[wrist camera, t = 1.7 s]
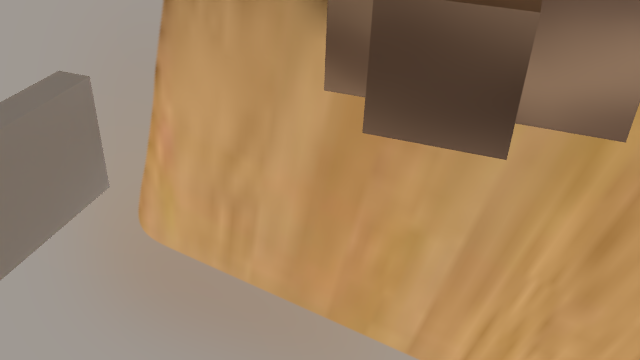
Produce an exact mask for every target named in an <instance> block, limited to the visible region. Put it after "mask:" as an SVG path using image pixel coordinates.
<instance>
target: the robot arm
mask: <svg viewBox="0 0 640 360" xmlns="http://www.w3.org/2000/svg"><path fill="white" fill-rule="evenodd" d="M107 188H109V182H108V176H107V171H106V165H105V159H104V154H103V148H102V143H101V137H100V132H99V126H98V121H97V115H96V109H95V104H94V98H93V94H92V87H91V82H90V77H89V76H84V75H79V74H73V73H68V72H62V71H58V72H56V73H54V74H52V75H50V76H48V77H47V78H45V79H43V80H41V81H39V82H37V83H35V84H33V85H32V86H30V87H28V88H26V89H24V90H22V91H20V92H19V93H17V94H15V95H13V96H11V97H9V98H8V99H6V100H4V101H2V102H0V280H1V279H3V278H4V277H5V276H6V275H7V274H8V273H9V272H11V271H12V270H13V269H14V268H15V267H17V266H18V265H19V264H20V263H21V262H22V261H24V260H25V259H26V258H27V257H28V256H29V255H31V254H32V253H33V252H34V251H35V250H36V249H37V248H39V247H40V246H41V245H42V244H43V243H45V242H46V241H47V240H48V239H49V238H50V237H52V235H54V234H55V233H56V232H57V231H59V230H60V229H61V228H62V227H63V226H64V225H66V224H67V223H68V222H69V221H70V220H71V219H73V218H74V217H75V216H76V215H77V214H78V213H80V212H81V211H82V210H83V209H84V208H85V207H87V206H88V205H89V204H90V203H91V202H92V201H94V200H95V199H96V198H97V197H98V196H99V195H100V194H102V193H103V192H104V191H105V190H106V189H107Z"/></svg>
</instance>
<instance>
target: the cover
mask: <svg viewBox="0 0 640 360" xmlns="http://www.w3.org/2000/svg"><path fill="white" fill-rule="evenodd" d="M324 90H325V91H331V92H337V93H343V94H348V95H354V96H360V97H365V109H364V122H363V133H366V134H371V135H377V136H382V137H387V138H393V139H398V140H403V141H409V142H414V143H419V144H425V145H430V146H435V147H441V148H446V149H451V150H456V151H462V152H467V153H472V154H478V155H483V156H488V157H494V158H499V159H504V160H507V155H508V151H509V147H510V142H511V138H512V134H513V129H514V125H515V123H516V124H522V125H528V126H534V127H539V128H545V129H551V130H557V131H563V132H568V133H574V134H580V135H586V136H591V137H597V138H603V139H609V140H615V141H620V142H626V140H627V137H628V134H629V131H630V128H631V126H632V123H633V120H634V117H635V114H636V111H637V108H638V106H639V103H640V0H328V7H327V33H326V58H325V83H324Z"/></svg>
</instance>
